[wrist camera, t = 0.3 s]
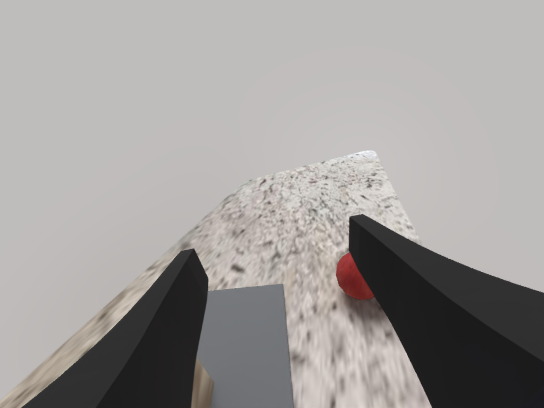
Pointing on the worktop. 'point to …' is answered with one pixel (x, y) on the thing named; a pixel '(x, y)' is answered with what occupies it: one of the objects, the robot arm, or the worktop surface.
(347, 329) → the worktop surface
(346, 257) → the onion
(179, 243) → the worktop surface
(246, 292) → the mat
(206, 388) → the block
